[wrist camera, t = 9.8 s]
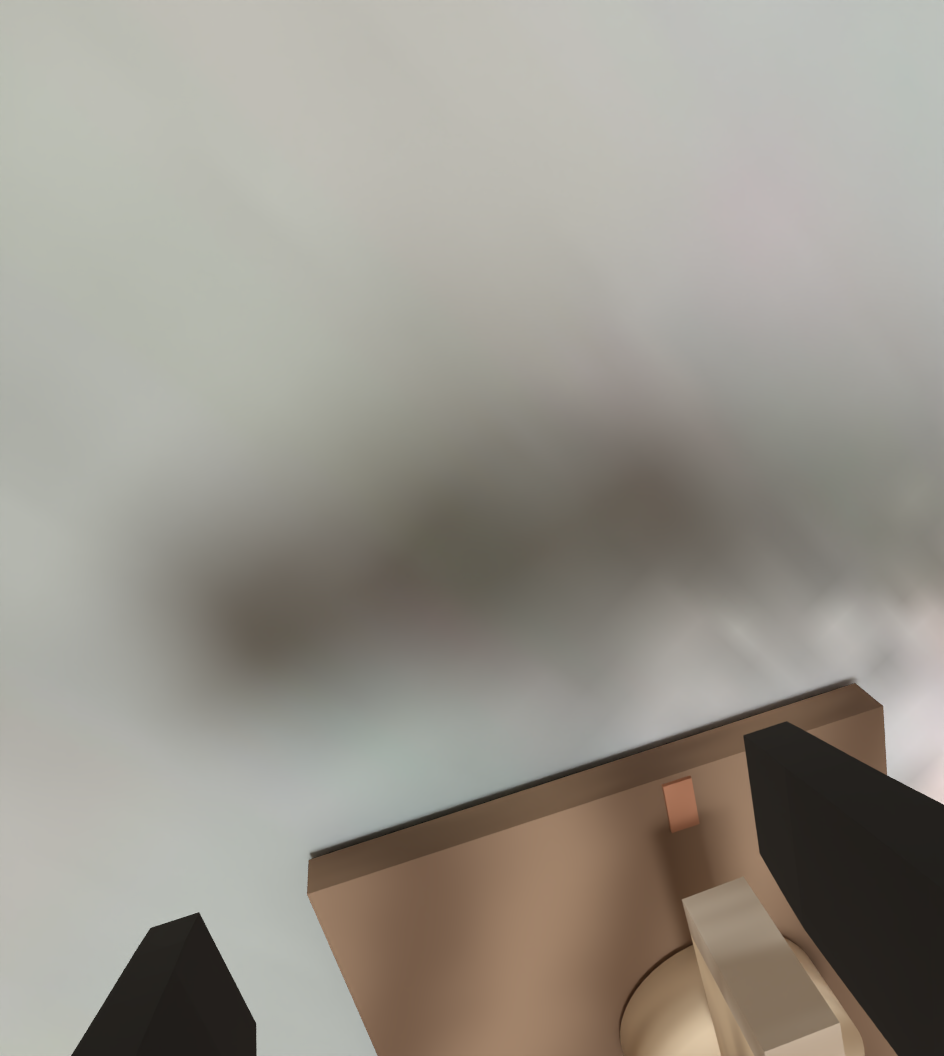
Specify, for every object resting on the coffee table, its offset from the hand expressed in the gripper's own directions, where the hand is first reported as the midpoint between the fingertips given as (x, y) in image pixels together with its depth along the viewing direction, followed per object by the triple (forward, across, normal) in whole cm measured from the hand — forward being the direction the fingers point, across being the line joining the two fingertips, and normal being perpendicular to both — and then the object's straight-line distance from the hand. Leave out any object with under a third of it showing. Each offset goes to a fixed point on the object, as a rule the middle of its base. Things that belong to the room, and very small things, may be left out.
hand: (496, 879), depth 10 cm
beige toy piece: (+8, -5, +14) cm, 17 cm away
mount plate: (+9, -3, +15) cm, 18 cm away
